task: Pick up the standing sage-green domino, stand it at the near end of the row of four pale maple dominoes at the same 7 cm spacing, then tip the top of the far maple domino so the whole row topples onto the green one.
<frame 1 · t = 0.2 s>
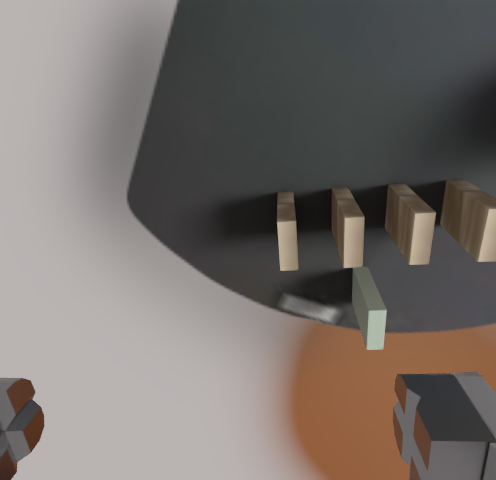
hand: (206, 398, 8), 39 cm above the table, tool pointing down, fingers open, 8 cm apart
domino 3: (339, 209, 47), on the table
domino 4: (286, 213, 47), on the table
domino 2: (394, 206, 46), on the table
domino 1: (451, 202, 45), on the table
end domino: (359, 284, 51), on the table
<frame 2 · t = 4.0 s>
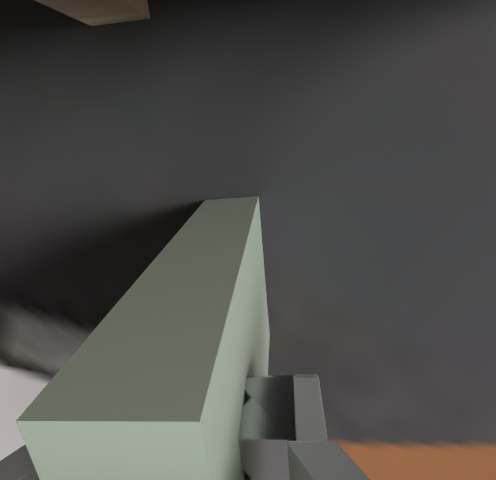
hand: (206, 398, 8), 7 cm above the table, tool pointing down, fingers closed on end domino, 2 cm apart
end domino: (239, 271, 14), on the table, touching gripper
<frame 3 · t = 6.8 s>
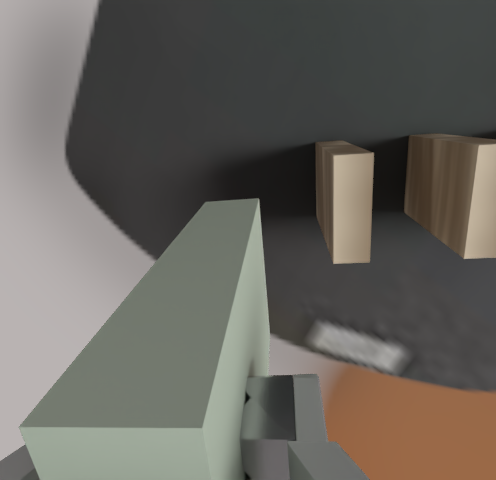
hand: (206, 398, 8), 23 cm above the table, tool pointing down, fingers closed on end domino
domino 3: (419, 174, 27), on the table
domino 4: (328, 179, 28), on the table
end domino: (239, 273, 14), point 16 cm above the table, touching gripper
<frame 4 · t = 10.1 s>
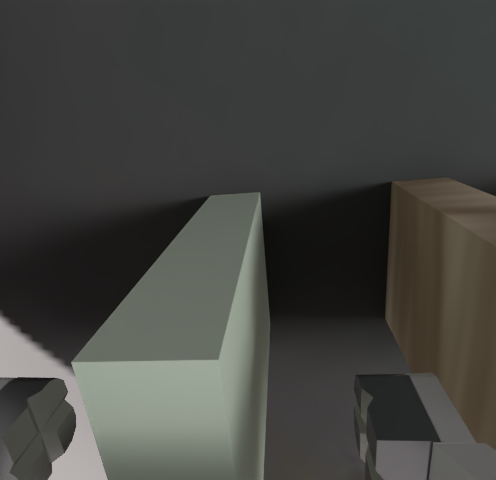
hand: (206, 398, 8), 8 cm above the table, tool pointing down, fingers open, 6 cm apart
domino 4: (413, 253, 14), on the table
end domino: (242, 263, 15), on the table
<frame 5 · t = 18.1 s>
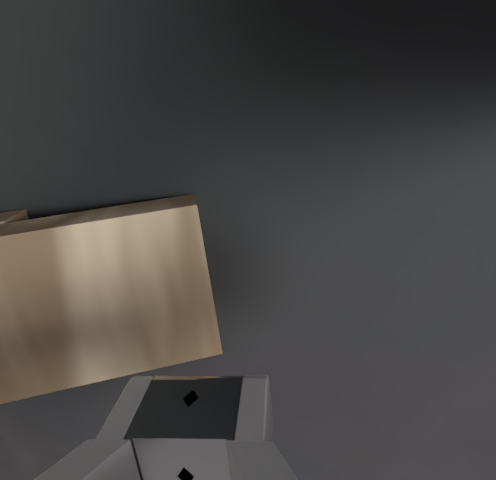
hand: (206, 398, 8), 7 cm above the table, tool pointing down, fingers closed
domino 2: (39, 284, 14), point 1 cm above the table, tilted 73°, touching domino 1, domino 3
domino 1: (208, 274, 14), point 1 cm above the table, tilted 74°, touching domino 2
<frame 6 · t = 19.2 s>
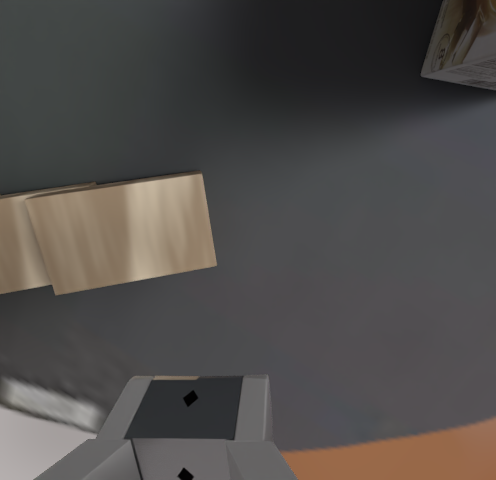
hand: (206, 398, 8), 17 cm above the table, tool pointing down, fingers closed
domino 2: (103, 227, 24), point 1 cm above the table, tilted 74°, touching domino 1, domino 3
domino 1: (208, 218, 23), point 1 cm above the table, tilted 74°, touching domino 2
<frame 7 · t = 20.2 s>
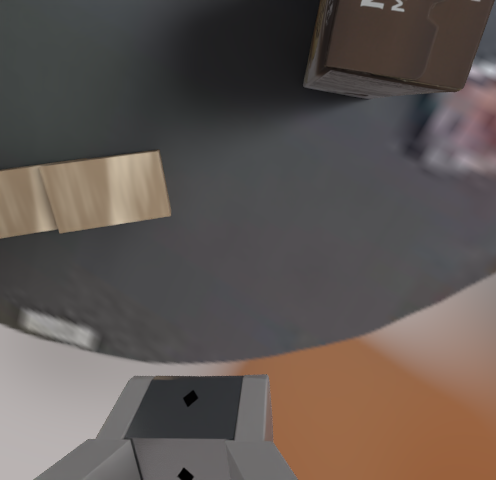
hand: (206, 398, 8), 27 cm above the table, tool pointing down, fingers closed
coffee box: (350, 36, 29), on the table
domino 2: (92, 190, 34), point 1 cm above the table, tilted 74°
domino 1: (165, 182, 33), point 1 cm above the table, tilted 74°
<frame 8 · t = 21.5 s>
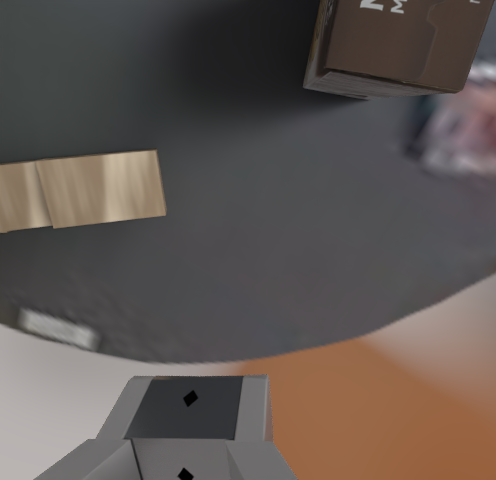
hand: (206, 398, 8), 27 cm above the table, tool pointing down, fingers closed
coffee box: (350, 37, 29), on the table
domino 2: (86, 188, 34), point 1 cm above the table, tilted 75°, touching domino 1, domino 3
domino 1: (161, 182, 33), point 1 cm above the table, tilted 75°, touching domino 2
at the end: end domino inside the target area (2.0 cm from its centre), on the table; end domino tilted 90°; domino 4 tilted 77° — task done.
